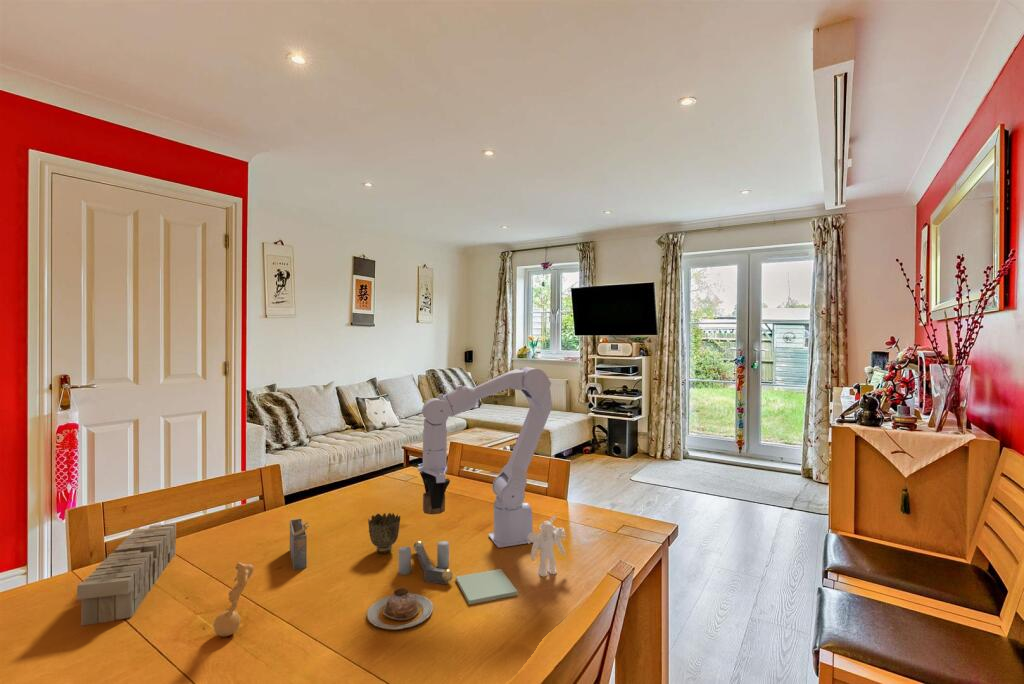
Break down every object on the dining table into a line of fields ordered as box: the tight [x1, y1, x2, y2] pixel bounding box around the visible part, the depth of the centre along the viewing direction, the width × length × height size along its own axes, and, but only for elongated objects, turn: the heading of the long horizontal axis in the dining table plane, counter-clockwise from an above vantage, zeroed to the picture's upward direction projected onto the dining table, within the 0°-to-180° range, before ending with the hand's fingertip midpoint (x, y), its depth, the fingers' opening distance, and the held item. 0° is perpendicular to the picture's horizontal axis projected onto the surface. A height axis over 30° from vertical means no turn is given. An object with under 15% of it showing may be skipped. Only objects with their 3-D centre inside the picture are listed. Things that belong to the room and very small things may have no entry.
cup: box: [367, 512, 401, 555], centre depth 118 cm, size 8×7×8 cm
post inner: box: [436, 540, 450, 569], centre depth 111 cm, size 3×3×5 cm
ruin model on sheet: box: [289, 518, 309, 571], centre depth 114 cm, size 11×3×10 cm, turn 28°
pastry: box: [366, 587, 434, 630], centre depth 92 cm, size 12×12×5 cm
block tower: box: [76, 522, 177, 626], centre depth 101 cm, size 8×8×29 cm
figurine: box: [213, 562, 254, 637], centre depth 85 cm, size 8×6×12 cm
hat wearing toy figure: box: [527, 514, 567, 578], centre depth 108 cm, size 9×4×12 cm, turn 112°
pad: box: [455, 568, 518, 605], centre depth 101 cm, size 10×10×1 cm
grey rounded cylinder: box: [398, 546, 412, 576], centre depth 108 cm, size 3×3×5 cm
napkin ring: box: [422, 492, 446, 516], centre depth 120 cm, size 5×5×4 cm
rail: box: [413, 540, 454, 586], centre depth 110 cm, size 6×19×3 cm, turn 21°
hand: (434, 504), depth 120 cm, fingers closed on napkin ring, 5 cm apart
